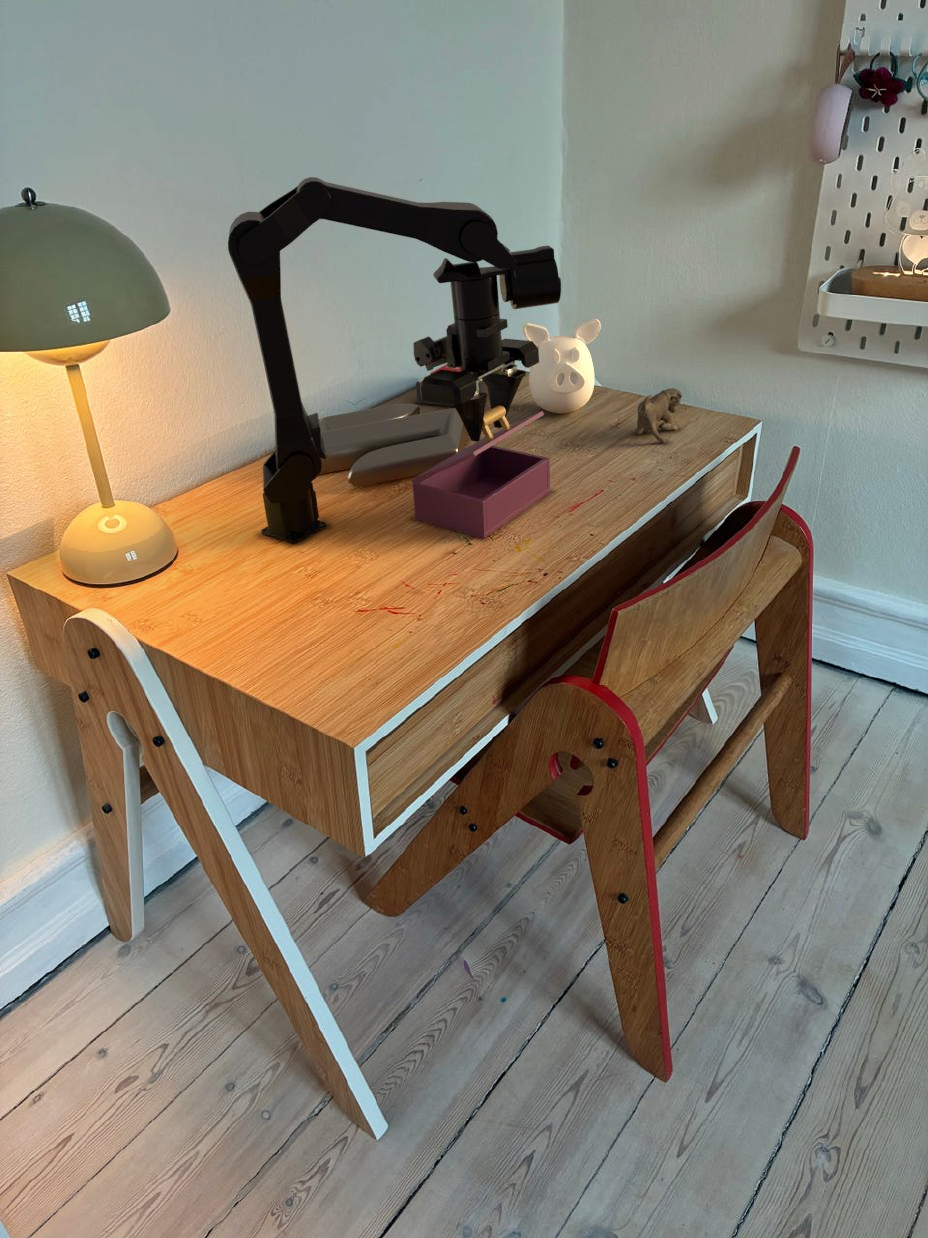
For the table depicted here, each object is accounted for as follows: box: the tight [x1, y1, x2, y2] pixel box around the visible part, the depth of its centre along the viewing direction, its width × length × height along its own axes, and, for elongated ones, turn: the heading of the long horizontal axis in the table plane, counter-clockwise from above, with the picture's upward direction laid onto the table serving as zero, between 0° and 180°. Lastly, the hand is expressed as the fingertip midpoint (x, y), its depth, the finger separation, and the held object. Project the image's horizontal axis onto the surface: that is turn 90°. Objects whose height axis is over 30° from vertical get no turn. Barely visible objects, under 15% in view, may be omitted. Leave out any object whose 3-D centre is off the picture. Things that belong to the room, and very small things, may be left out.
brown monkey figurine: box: [635, 387, 683, 444], centre depth 152 cm, size 12×6×7 cm, turn 145°
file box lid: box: [411, 405, 545, 485], centre depth 129 cm, size 12×16×4 cm
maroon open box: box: [412, 445, 551, 539], centre depth 133 cm, size 11×16×5 cm
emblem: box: [318, 403, 468, 488], centre depth 150 cm, size 28×5×28 cm
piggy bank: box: [522, 318, 602, 414], centre depth 160 cm, size 12×12×15 cm
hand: (487, 434), depth 128 cm, fingers closed on file box lid, 5 cm apart
